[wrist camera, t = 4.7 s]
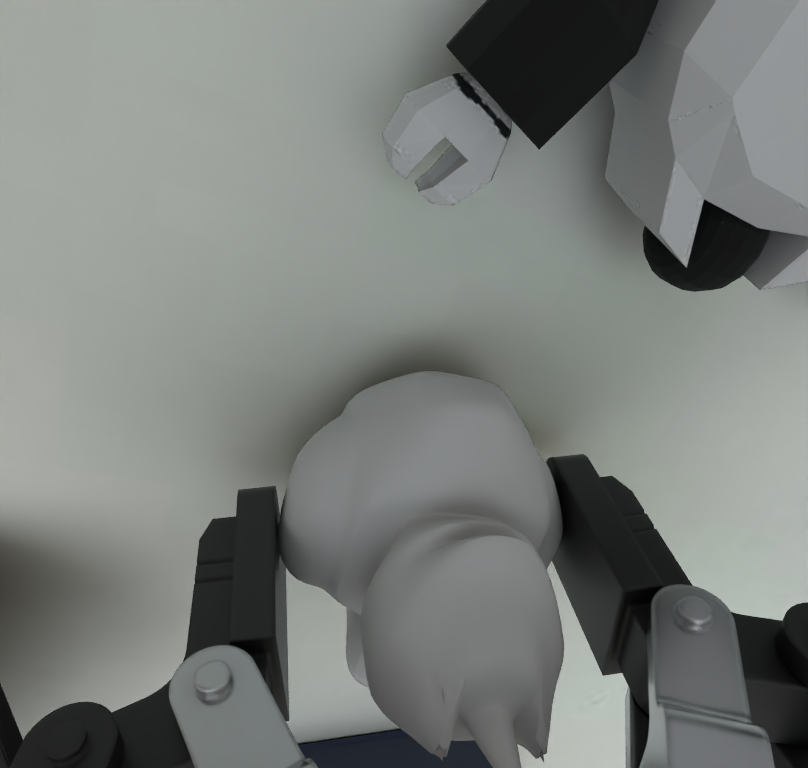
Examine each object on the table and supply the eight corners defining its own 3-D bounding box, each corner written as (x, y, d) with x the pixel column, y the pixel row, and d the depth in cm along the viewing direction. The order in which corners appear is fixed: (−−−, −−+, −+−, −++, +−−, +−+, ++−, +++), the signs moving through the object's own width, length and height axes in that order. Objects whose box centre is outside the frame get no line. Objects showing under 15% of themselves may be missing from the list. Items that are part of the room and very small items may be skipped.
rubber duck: (568, 353, 15) (807, 697, 8) (464, 571, 18) (576, 946, 11) (316, 302, 13) (361, 676, 7) (251, 550, 16) (239, 971, 10)
